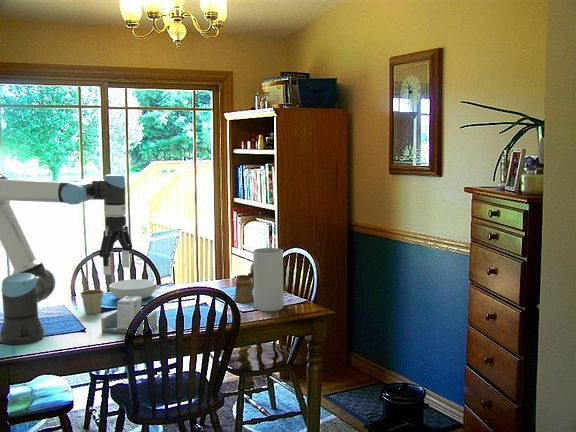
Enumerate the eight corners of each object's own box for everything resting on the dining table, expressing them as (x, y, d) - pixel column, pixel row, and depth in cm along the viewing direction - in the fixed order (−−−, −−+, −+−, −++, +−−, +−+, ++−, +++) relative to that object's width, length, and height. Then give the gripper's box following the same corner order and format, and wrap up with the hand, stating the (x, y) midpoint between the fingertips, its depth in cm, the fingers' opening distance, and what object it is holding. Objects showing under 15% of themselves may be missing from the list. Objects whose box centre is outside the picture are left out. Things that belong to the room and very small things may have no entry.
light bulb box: (125, 323, 261) (125, 295, 260) (142, 323, 260) (142, 296, 260) (116, 328, 250) (116, 300, 250) (134, 329, 250) (134, 300, 249)
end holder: (141, 336, 247) (140, 320, 247) (101, 332, 252) (101, 317, 251) (157, 326, 260) (156, 311, 259) (119, 323, 264) (118, 308, 263)
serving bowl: (166, 296, 306) (165, 281, 305) (134, 306, 288) (133, 291, 288) (132, 291, 317) (132, 276, 316) (99, 300, 299) (99, 285, 298)
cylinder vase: (288, 309, 283) (288, 251, 279) (263, 313, 276) (262, 254, 273) (274, 302, 293) (273, 246, 290) (249, 307, 287) (248, 249, 283)
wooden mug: (266, 299, 299) (265, 260, 296) (240, 304, 291) (239, 263, 289) (255, 295, 306) (255, 257, 304) (230, 300, 298) (229, 260, 296)
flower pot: (98, 316, 275) (97, 295, 273) (77, 314, 276) (76, 294, 275) (108, 309, 284) (107, 290, 283) (88, 308, 286) (87, 289, 284)
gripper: (106, 220, 238) (108, 278, 241) (140, 212, 262) (141, 265, 265) (88, 219, 240) (89, 276, 243) (123, 211, 264) (124, 263, 267)
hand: (116, 270), depth 254 cm, fingers open, 13 cm apart
